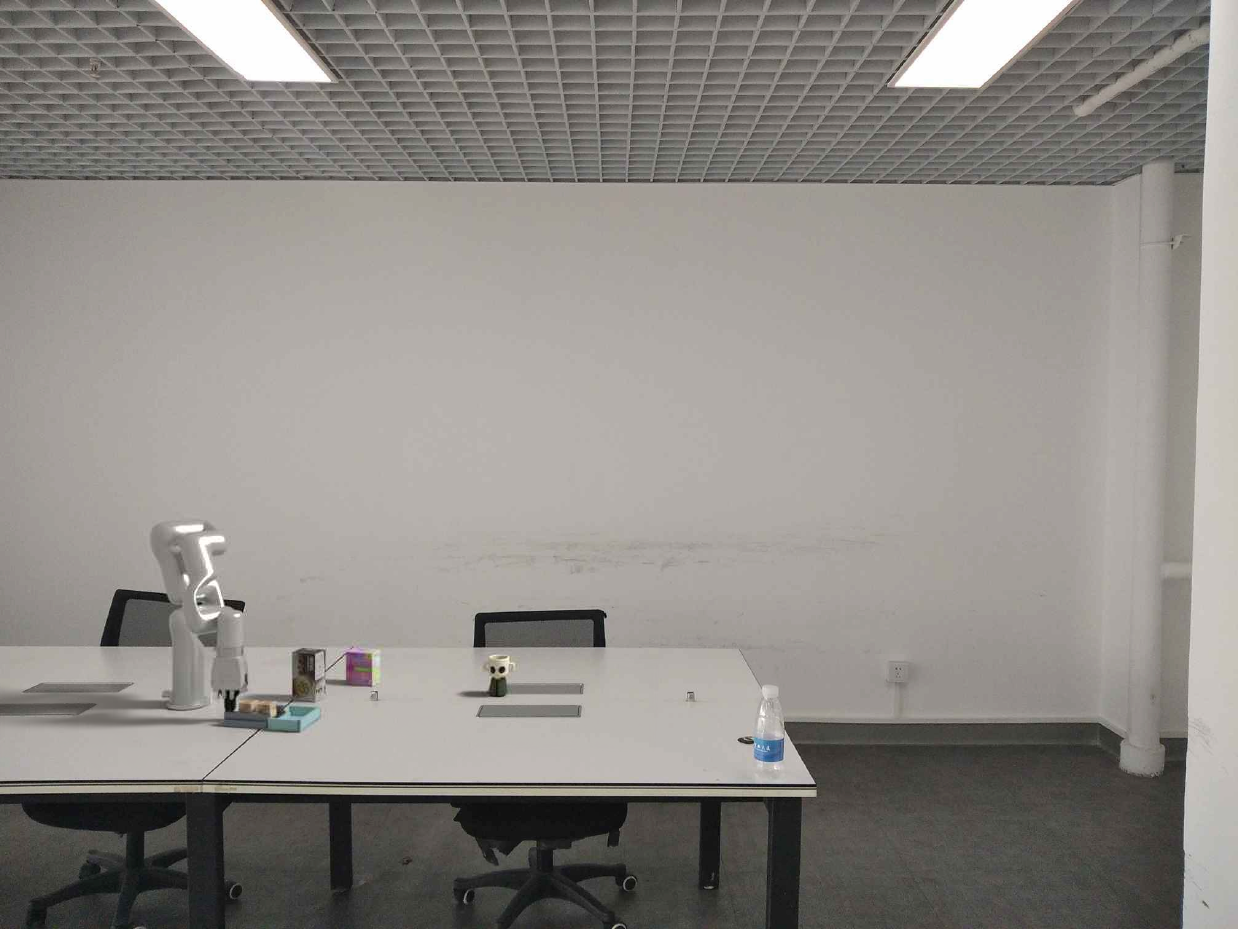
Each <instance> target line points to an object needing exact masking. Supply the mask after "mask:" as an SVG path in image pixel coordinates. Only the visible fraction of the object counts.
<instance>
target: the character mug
mask: <svg viewBox="0 0 1238 929" xmlns="http://www.w3.org/2000/svg"><path fill="white" fill-rule="evenodd" d="M515 664H516V663H515V662H510V656H509V655H506V654H493V655H489V656H488V661H483V662H482V670H483V672H488V675H489V677H491V678H490V683H489V690H488V694H489V695H491V696H496V694H497V696H505V695H507V694H508V684H507V683H508V682H507V678H506V677H509V674H510V673H514V672H515V670H516V669H515V668H516V667H515ZM487 665H488V668H486V667H487ZM510 666H511V669H510Z"/></svg>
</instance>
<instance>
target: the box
mask: <svg viewBox="0 0 1238 929" xmlns="http://www.w3.org/2000/svg"><path fill="white" fill-rule="evenodd" d="M380 682H381V650H380V649H371V648H370V649H368V648H357V647H353V648H351V649H348V650H346V651H345V685H351V686H364V687H365V686H366V687H374V686H376V685H378V684H379V683H380Z"/></svg>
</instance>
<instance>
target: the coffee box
mask: <svg viewBox="0 0 1238 929" xmlns="http://www.w3.org/2000/svg"><path fill="white" fill-rule="evenodd" d="M326 651H327V649H323V648H322V649H320V648H312V647H311V648H309V647H301V648H299V649H296V650H294V651H292V652H291V681H292V682H291V683H292V684H291V700H292V701H302V702H313V703H316V702H319V701H320V700H323V699H325V698H326V697H327V696H326V686H327V685H326V678H327V676H326V675H327V674H326V669H327V668H326V664H327V662H326V660H327V659H326V657H327V656H326V655H327V654H326V653H327V652H326Z"/></svg>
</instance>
